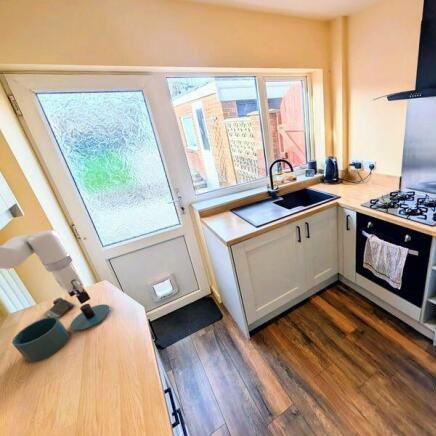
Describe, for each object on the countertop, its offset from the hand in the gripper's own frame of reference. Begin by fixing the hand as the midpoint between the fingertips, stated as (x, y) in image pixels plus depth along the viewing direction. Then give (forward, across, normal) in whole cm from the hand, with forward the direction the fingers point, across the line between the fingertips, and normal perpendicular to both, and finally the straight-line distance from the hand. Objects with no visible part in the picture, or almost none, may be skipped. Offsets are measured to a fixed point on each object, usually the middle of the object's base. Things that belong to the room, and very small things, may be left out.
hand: (80, 297), depth 98 cm
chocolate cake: (+11, -20, -6) cm, 24 cm away
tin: (+11, 0, -15) cm, 19 cm away
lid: (+11, 0, 0) cm, 11 cm away
